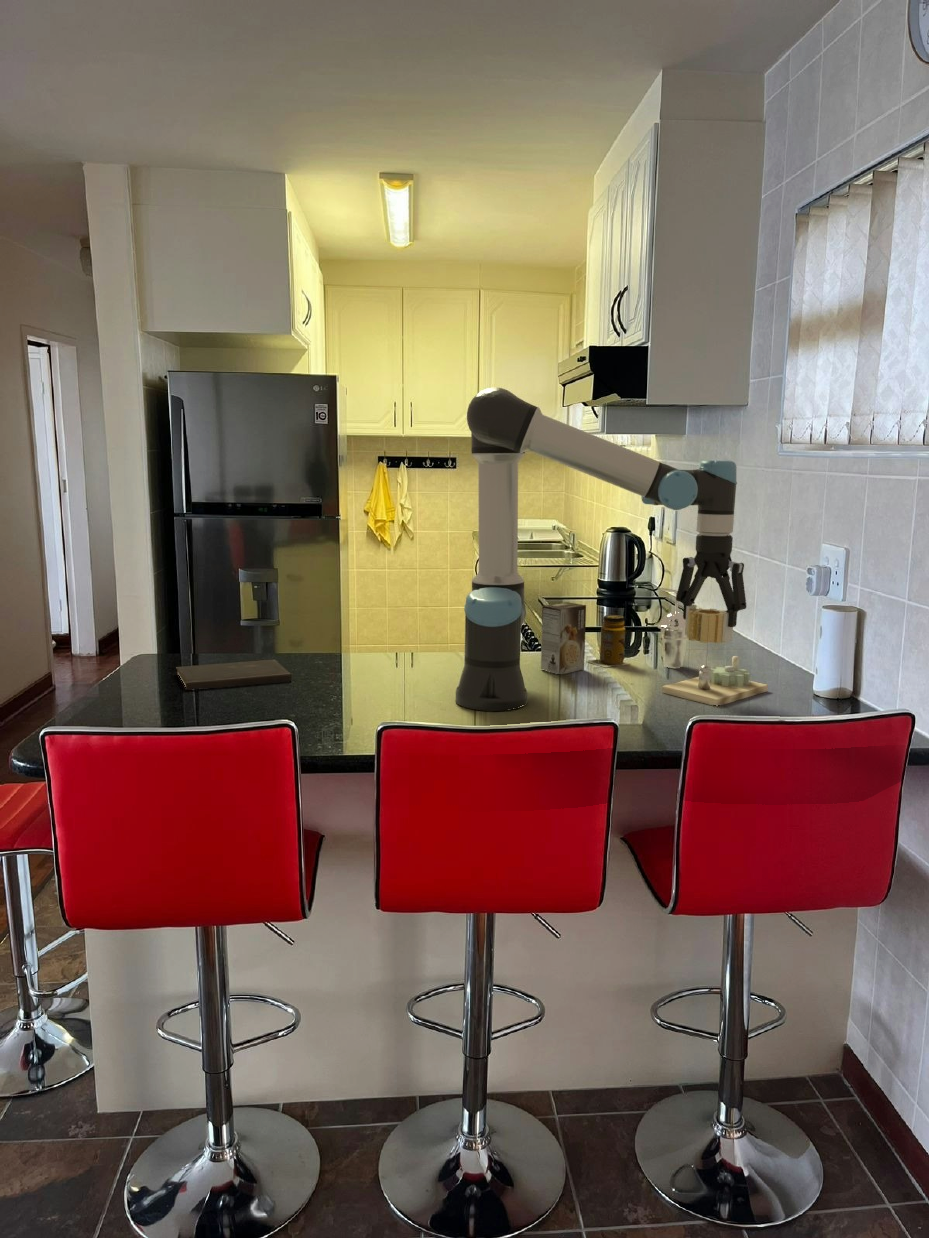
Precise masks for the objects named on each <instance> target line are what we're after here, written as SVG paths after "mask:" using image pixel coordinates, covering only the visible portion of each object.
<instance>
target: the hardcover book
mask: <svg viewBox="0 0 929 1238" xmlns="http://www.w3.org/2000/svg"><path fill="white" fill-rule="evenodd" d="M175 669H176V670H177V672H176V673H177V676H178V675H179V676H180V678H181V679H180V678H179V679H180V681H181V680H182V681H183V683H184V685H185V686H184V685H183V686H184V688H185V687H186V688H185V691H186V690H192V689H199V688H217V689H223V688H222V687H228V688H232V687H231V686H239V687H243V686H242V685H250V686H255V685H254V684H261V685H270V684H281V683H291V682H292V674H291V673H290V672H289V671H288V669H286V668H285V667H284V666H283V665H282V664H281V663H279V661H278V660H276V659H275V658H274V659H267V660H266V659H263V660H252V661H251V660H250V661H238V662H228V663H227V662H226V663H224V662H222V663H214V664H212V663H211V664H200V665H190V666H189V665H187V666H176V667H175ZM179 676H178V677H179ZM182 681H181V682H182ZM290 681H291V682H290ZM183 683H182V684H183Z"/></svg>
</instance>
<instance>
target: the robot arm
mask: <svg viewBox="0 0 929 1238" xmlns="http://www.w3.org/2000/svg"><path fill="white" fill-rule="evenodd" d="M540 408H541V407H539V406H536V405H533V404H532V403H529V402H527V401H525V400H523V399H521V398H520V397H518V396H517V395H516V394H514V393H513V392H511V391H510V390H507V389H505V388H502V387H489V388H484V389H483V390H481V391H479V392H478V393H477V394H475V396H474V397H473V398H472V399H471V401H470V403H469V404H468V408H467V411H466V421H467V426H468V429H469V431H470V432H471V433H470V436H471V439H470V441H471V448H470V449H471V451H470V452H471V454H470V455H471V456H472V458H474V459H475V461H476V462H477V463H478V572H477V574H476V575H475V576H474V577H473V578H472V579H471V591H470V592H469V593H468V594H467V595H466V597H465V604H464V608H463V609H464V614H465V617H464V618H465V620H464V666H463V670H462V672H461V676H460V679H459V682H458V686H457V687H456V689H455V703H456V704H457V705H459V706H460V707H463V708H466V709H471V710H476V711H483V712H485V711H486V712H502V711H503V710H506V711H509V710H508V709H513V708H518V707H520V706H522V705H525V704H526V702H527V703H528V689H527V688H526V686H525V682H524V676H523V673H522V670H521V641H522V640H521V637H522V636H521V635H522V634H521V633H522V627H523V626H522V625H523V624H524V622H525V619H526V615H527V614H526V613H527V609H526V604H525V579H524V578H523V577H522V575H520V573H519V572H518V571H519V570H518V567H519V566H518V564H519V563H518V559H519V557H518V555H519V553H518V549H519V548H518V546H519V545H518V544H519V543H518V542H519V541H518V539H519V538H518V536H519V535H518V534H519V533H518V532H519V531H518V530H519V529H518V526H519V463H520V461H521V460H522V459H523V458H524V456H525V455H526V452H528V451H529V452H531V453H534V454H536V455H537V456H541V457H543V458H547V459H549V460H551V461H554V462H556V463H558V464H561V465H563V466H566V467H569V468H571V469H573V470H575V471H578V472H580V473H583V474H585V475H588V476H591V477H593V478H596V479H597V480H601V481H603V482H606V483H608V484H610V485H612V486H616V487H618V488H620V489H623V490H625V491H628V492H630V493H633V494H636V495H638V496H640V497H641V498H640V499H641V502H642V503H643V504H644V505H651V506H652V505H653V506H664V507H666V508H668V509H669V510H674V511H679V510H682V509H686V508H687V507H690V506H697V517H696V532H698V534H697V535H696V536H695V551H696V554H695V556H694V557H693V556H689V557H684V558H682V572H681V576H680V580H679V585H678V588H677V591H678V592H677V596H676V595H675V601H676V600H677V601H678V602H680V603H682V605H683V612H682V613H683V618H684V619H686V623H685V635H687V625H688V610H695V609H697V605H696V604H695V603H696V602H695V600H696V599H697V597H698V595H699V592H700V591H701V589H702V587H703V585H704V582H705V581H706V580H707V579H708V578H711V579H715V582H716V583H717V584H718V586H719V589H720V592H721V595H722V599H723V601H724V604H725V606H726V610H725V611H726V612H724V617H723V633H722V642H723V643H729V642H732V641H733V631H734V627H736V626H737V622H738V620H737V619H738V612H739V611H744V610H746V609H747V600H746V591H745V583H744V582H745V581H744V570H745V569H744V568H745V563H744V562H736V561H733V559H732V557H731V554H732V551H733V541H734V540H733V536H732V534H733V532H734V524H735V523H734V522H735V505H736V493H737V484H738V482H737V464H736V462H734V461H733V460H707V459H706V460H702V461H701V462H700V466H699V467H698V468H699V469H698V468H697V469H678V468H675V467H673V466H671V465H669V464H666V463H663V462H660V460H659V461H658V460H656V459H654V458H651V457H649V456H646V455H644V454H641V453H639V452H636V451H634V450H631V449H628V448H626V447H624V446H621V445H619V444H616V443H614V442H611V441H609V440H606V439H604V438H602V437H599V436H597V435H594V434H591V433H590V432H587V431H584V430H581V429H579V428H577V427H574V426H572V425H569V424H567V423H564V422H562V421H559V420H557V419H554V418H552V417H550V416H547V415H545V414H543V412H542V411H541V409H540ZM695 567H697V570H696V571H695ZM728 570H729V571H730V572H731V576H730V574H729V572H728ZM694 571H695V574H694ZM693 575H694V576H693ZM730 578H731V581H730ZM692 579H693V580H692ZM691 582H692V583H691ZM526 705H527V704H526ZM526 705H525V706H526ZM518 709H519V708H518ZM513 710H514V709H513ZM503 712H504V711H503Z"/></svg>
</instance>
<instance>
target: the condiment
mask: <svg viewBox="0 0 929 1238" xmlns="http://www.w3.org/2000/svg"><path fill="white" fill-rule="evenodd" d="M602 619H603V621H602V625H601V628H600V641H599V643H600V644H599V659H593V660H590V659H589V660H587V662H588V663H590V664H593V665H595V666H599V667H603V668H611V667H620V666H626V665H627V666H628V665H631V663H630V662H627V661H624V659H625V646H626V645H625V641H626V640H625V638H626V627H625V617H624V616H623V615H618V614H605V615H604V616H603V618H602Z"/></svg>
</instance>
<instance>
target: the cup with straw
mask: <svg viewBox="0 0 929 1238" xmlns="http://www.w3.org/2000/svg"><path fill="white" fill-rule="evenodd" d="M656 590H657V591H662V592H669V593H674V594H675V597H676V596H677V592H678V590H677V589H672V588H665V587H660V586H657V588H656ZM674 604H675V607H674V611H670V612H668V613H666V614H665V615H664V616H663V617H662V619H661V622H659V623H658V625H657V628H658V629H660V635H661V636H660V637H661V643H662V658H663V667H664V668H667V667H668V669H681V668H680V667H682V668H683V663H684V659H685V653H686V648H687V647H686V646H687V643H688V639H689V638H687V635H685V623H686V619H684V618H683V612H681V611H679V601H677V600H676V599H675V603H674Z"/></svg>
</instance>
